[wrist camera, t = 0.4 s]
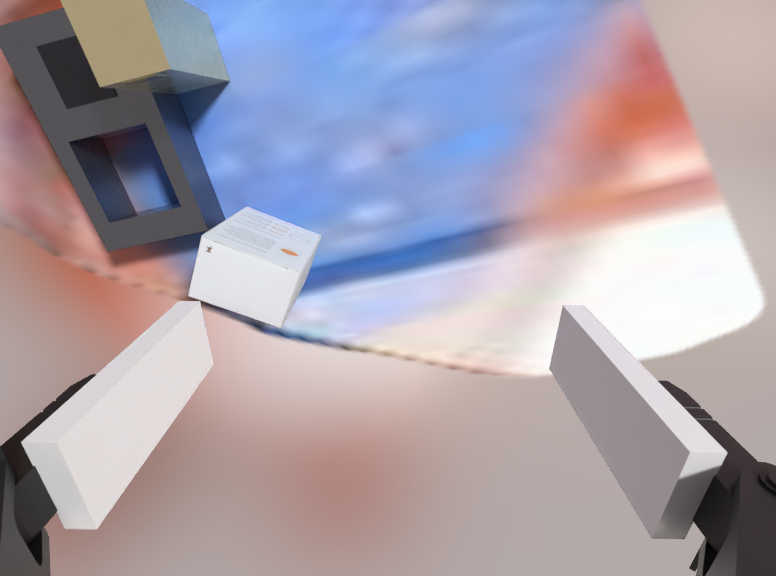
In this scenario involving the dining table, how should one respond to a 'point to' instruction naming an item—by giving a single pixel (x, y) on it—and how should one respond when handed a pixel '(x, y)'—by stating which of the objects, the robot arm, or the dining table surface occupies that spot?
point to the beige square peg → (148, 44)
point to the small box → (253, 265)
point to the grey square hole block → (107, 134)
